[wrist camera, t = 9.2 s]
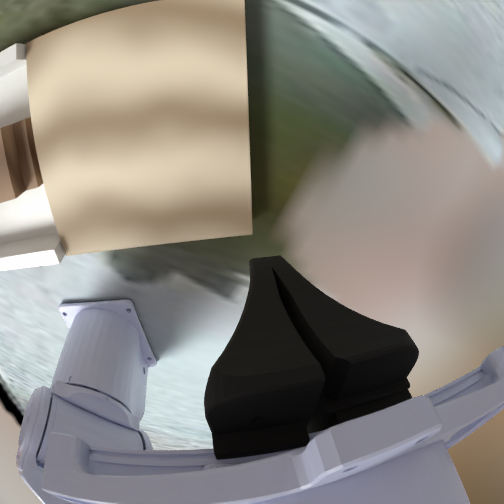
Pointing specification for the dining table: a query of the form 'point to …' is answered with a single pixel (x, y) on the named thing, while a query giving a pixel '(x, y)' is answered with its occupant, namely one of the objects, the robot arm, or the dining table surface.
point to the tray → (31, 201)
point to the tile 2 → (27, 154)
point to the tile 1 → (9, 166)
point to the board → (144, 125)
